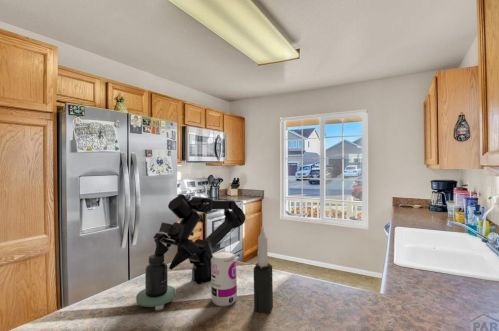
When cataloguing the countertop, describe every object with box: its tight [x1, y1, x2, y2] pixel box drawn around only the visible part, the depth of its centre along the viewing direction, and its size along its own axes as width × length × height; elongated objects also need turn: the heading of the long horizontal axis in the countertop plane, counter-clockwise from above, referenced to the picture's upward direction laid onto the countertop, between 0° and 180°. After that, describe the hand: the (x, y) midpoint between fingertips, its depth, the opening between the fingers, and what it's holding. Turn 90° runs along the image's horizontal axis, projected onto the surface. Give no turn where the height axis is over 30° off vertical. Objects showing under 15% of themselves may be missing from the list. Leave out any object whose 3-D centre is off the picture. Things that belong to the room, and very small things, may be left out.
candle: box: [253, 226, 274, 315], centre depth 81 cm, size 5×5×25 cm
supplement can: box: [210, 250, 238, 307], centre depth 86 cm, size 8×8×15 cm
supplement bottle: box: [144, 253, 169, 298], centre depth 86 cm, size 7×7×12 cm
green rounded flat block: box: [135, 285, 177, 311], centre depth 86 cm, size 12×12×3 cm
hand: (161, 266), depth 87 cm, fingers open, 9 cm apart
